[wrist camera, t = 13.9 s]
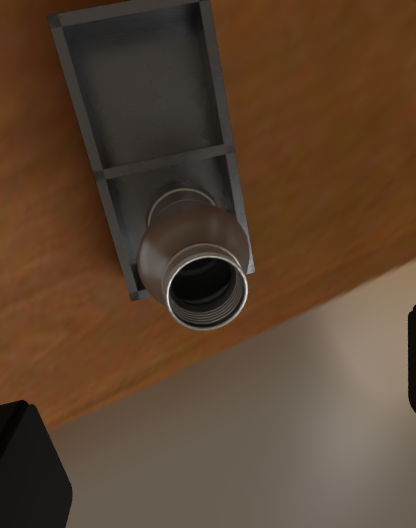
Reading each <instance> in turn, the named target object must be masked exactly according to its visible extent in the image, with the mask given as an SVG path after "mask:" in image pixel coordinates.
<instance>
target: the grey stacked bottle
mask: <svg viewBox="0 0 416 528" xmlns="http://www.w3.org/2000/svg"><path fill="white" fill-rule="evenodd" d="M146 228H147V230H146V232H145V234H144V235H143V237H142V239H141V241H140V245H139V248H138V253H137V267H138V273H139V276H140V279H141V281H142V283H143V285H144V286H145V288H146V290H147V291H148V292H149V293H150V294H151V295H152V296H153V297H154V299H155V300H156V301H158V302H159V303H160V304H162V305H163V306H165V307H167V309H168V311H169V313H170V314H171V316H172V317H173V318H174V319H175V320H176V321H177V322H178V323H179V324H181V325H182V326H184V327H186V328H189V329H192V330H197V331H208V330H214V329H217V328H220V327H222V326H224V325H226V324H228V323H229V322H231V321H232V320H233V319H234V318H235V317H236V316H237V315H238V314H239V313H240V311H241V310H242V308H243V307H244V304H245V302H246V299H247V294H248V284H247V279H246V274H247V270H248V265H249V259H250V250H249V243H248V239H247V236H246V234H245V232H244V230H243V228H242V226H241V225H240V224H239V223H238V221H237V220H236V219H235V218H234V217H233V216H231V215H230V214H229V213H228V212H226V211H224V210H222V209H220V208H218V206H217V204H216V202H215V199H214V198H213V197H212V195H211V194H210V193H209V192H208V191H206V190H205V189H204V188H202V187H200V186H198V185H195V184H192V183H176V184H173V185H169V186H167V187H166V188H164V189H162V190H161V191H160V192H158V193H157V194H156V195H155V196H154V198H153V199H152V200H151V202H150V204H149V206H148V209H147V212H146Z"/></svg>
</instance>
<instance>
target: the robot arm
mask: <svg viewBox="0 0 416 528" xmlns="http://www.w3.org/2000/svg"><path fill="white" fill-rule="evenodd" d="M408 397H409V402H410V405H411V407H412V408H413V410H414V411H415V413H416V305H415V306H414V307H413V311H411V312H410V313H409V315H408ZM71 503H72V487H71V484H70V482H69V479H68V477H67V475H66V472H65V470H64V468H63V466H62V463H61V461H60V459H59V457H58V454H57V452H56V450H55V448H54V446H53V444H52V441H51V439H50V437H49V434H48V432H47V430H46V428H45V426H44V423H43V421H42V419H41V417H40V414H39V412H38V410H37V408H36V406H35V405H33V404H30V405H29V404H28V403H27V402H26V401H25V400H20V401H16V402H11V403H7V404H3V405H0V528H65V527H66V523H67V519H68V515H69V511H70V507H71Z"/></svg>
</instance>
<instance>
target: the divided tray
mask: <svg viewBox="0 0 416 528" xmlns="http://www.w3.org/2000/svg"><path fill="white" fill-rule="evenodd" d="M47 19H48V22H49V25H50V29H51V32H52V36H53V39H54V42H55V46H56V49H57V52H58V56H59V59H60V63H61V66H62V69H63V73H64V76H65V79H66V83H67V86H68V90H69V93H70V96H71V100H72V103H73V106H74V110H75V113H76V117H77V120H78V123H79V127H80V130H81V133H82V137H83V140H84V144H85V147H86V150H87V154H88V157H89V160H90V164H91V167H92V171H93V174H94V177H95V181H96V184H97V187H98V191H99V194H100V198H101V201H102V204H103V208H104V211H105V214H106V218H107V221H108V225H109V228H110V231H111V235H112V238H113V241H114V245H115V248H116V252H117V255H118V258H119V262H120V265H121V268H122V272H123V275H124V279H125V282H126V285H127V289H128V292H129V295H130V299H131V301H135V300H139V299H143V298H148V297H152V295H151V294H150V293H149V292H148V291H147V290H146V288H145V286H144V285H143V283H142V281H141V279H140V276H139V273H138V267H137V253H138V248H139V245H140V241H141V239H142V237H143V235H144V234H145V232H146V230H147V228H146V212H147V209H148V206H149V204H150V202H151V200H152V199H153V198H154V196H155V195H156V194H157V193H158V192H160V191H161V190H162V189H164V188H166V187H167V186H169V185H173V184H176V183H192V184H195V185H198V186H200V187H202V188H204V189H205V190H206V191H208V192H209V193H210V194H211V195H212V197H213V198H214V199H215V202H216V204H217V206H218V208H220V209H222V210H224V211H226V212H228V213H229V214H230V215H231V216H233V217H234V218H235V219H236V220H237V221H238V223H239V224H240V225H241V226H242V228H243V230H244V232H245V234H246V236H247V239H248V243H249V250H250V259H249V265H248V270H247V274H250V273H254V272H255V270H254V264H253V258H252V252H251V246H250V240H249V234H248V228H247V222H246V216H245V209H244V203H243V197H242V191H241V185H240V179H239V173H238V167H237V161H236V155H235V149H234V143H233V137H232V131H231V124H230V118H229V112H228V106H227V100H226V94H225V88H224V82H223V76H222V70H221V64H220V58H219V52H218V45H217V39H216V33H215V27H214V21H213V15H212V9H211V3H210V0H131V1H125V2H120V3H114V4H109V5H103V6H98V7H92V8H87V9H81V10H76V11H70V12H65V13H59V14H54V15H48V16H47Z"/></svg>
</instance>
